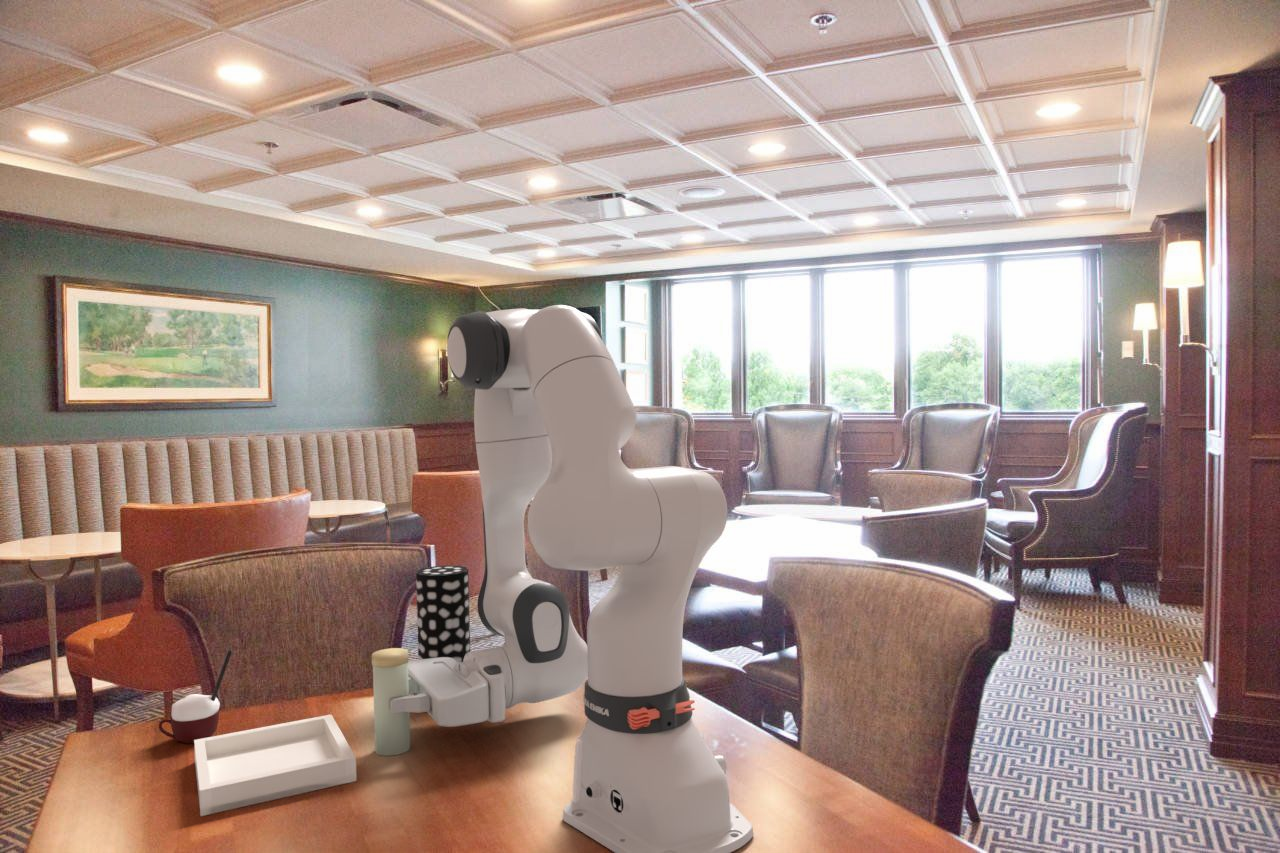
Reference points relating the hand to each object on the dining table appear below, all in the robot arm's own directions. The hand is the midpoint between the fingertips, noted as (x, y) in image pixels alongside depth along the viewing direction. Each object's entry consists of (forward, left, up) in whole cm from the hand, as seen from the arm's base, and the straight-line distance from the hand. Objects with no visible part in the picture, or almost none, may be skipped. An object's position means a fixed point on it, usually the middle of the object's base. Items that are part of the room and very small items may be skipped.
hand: (384, 699), depth 116 cm
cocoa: (+19, +22, -7) cm, 30 cm away
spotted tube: (+19, -14, -7) cm, 25 cm away
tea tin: (0, -1, -7) cm, 7 cm away
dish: (+1, +14, -7) cm, 16 cm away
